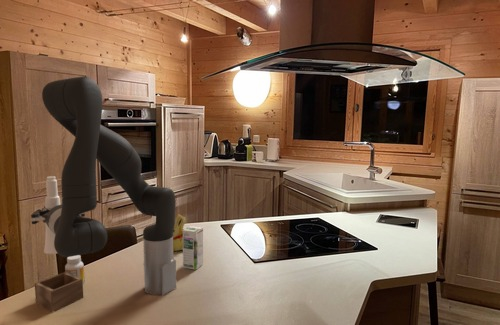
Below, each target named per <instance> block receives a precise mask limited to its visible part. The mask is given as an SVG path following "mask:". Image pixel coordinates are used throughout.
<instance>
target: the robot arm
mask: <svg viewBox="0 0 500 325" xmlns="http://www.w3.org/2000/svg"><path fill="white" fill-rule="evenodd" d="M102 94H103V93H102V91H101V88H100V87H99V85H98V83H97V82H96V81H95V80H94V79H93V78H91V77H88V76H77V77H71V78H65V79H57V80H54V81H50V82H47V84H45V86H44V87H43V89H42V93H41V95H42V96H41V97H42V102H43V104H44V107H45V108H46V110H47V112H48V113H49V114H50V116H52V117H53V119H55V121H57V122H58V123H59V124H60V126H62V127H64V128H65V129H66V130H67V131H68V132H69V133H70V134H71V135H72V136H74V140H73V144H72V147H71V149H70V151H69V153H68V156H67V158H66V159H65V161H64V164H63V168H62V172H61V178H60V179H61V181H60V182H61V184H60V185H61V203H60V204H61V205H57V206H55V207H53V208H45V205H44V206H43V207H42V208H41V209H36V210H35V211H34V212H33V213H32V214H30V219H31V220H30V221H31V225H36V224H38V223H40V222H41V221H42V222H43V223H45V225H46V224H47V226H48V227H49V228H50V230H51V231H52V232H53V233H54V235H55V239H54V247H55V250H56V252H57V254H58V255H59V256H60V257H62V258H68V257H71V256H77V255H80V256H81V255H87V254H93V253H94V254H95V253H97V252H100V251H101V250H103V249H104V247H105V246H106V245H107V242H108V231H107V228H106V227H105V225H104V224H103V223H102V222H101V221H99V220H97V219H94V218H90V217H85V216H86V213H87V212H90V211H93V210H95V209H96V207H97V205H98V202H97V201H98V199H97V197H98V196H97V177H96V176H97V174H96V173H97V172H96V170H97V162H99V164H100V165H101V166H102V167H103V169H104V170H105V171H106V172H107V173H108V174H109V175H110V176H111V177H112V178H113V179H114V180H115V182H117V184H118V185H119V186H120V187H121V189H123V191H124V192H125V193H126V194H127V196H128V198H130V200H131V202H132V204H133V205H134V207H135V208H136V209H137V211H139V212H140V213H142V214H143V215H146V216H151V217H155V223H154V224H150V225H148V226H145V227H144V229H143V231H142V238H143V239H142V240H143V242H142V243H143V245H142V246H143V275H144V277H143V278H144V279H143V280H144V291H145V293H147V294H150V295H161V296H164V295H167V294H168V293H169V292H171V291H173V290H174V289H177V260H176V259H174V251H173V230H174V226H175V218H176V204H177V202H176V196H175V195H176V194H175V191H174V190H173V189H171V188H170V187H163V186H154V185H150V184H149V183H148V182H147V181H146V180H145V179H144V178H143V177H142V166H143V165H142V160H141V159H142V158H141V157H140V155H139V153H138V152H137V151H136V149H135V147H134V146H132V144H131V143H130V142H129V141H128V140H127V139H126V138H125V137H123V136H122V135H121V134H119V133H117V132H115V131H113V130H112V129H109V128H108V127H106V126H104V125H102V123H101V122H102V114H103V95H102Z"/></svg>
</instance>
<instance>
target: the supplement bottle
mask: <svg viewBox="0 0 500 325" xmlns="http://www.w3.org/2000/svg"><path fill="white" fill-rule="evenodd" d="M81 257H82V256H81V255H77V256H71V257H66V262H67V263H66V264H65V265H64V272H66V273H69V274H71V275H73V276H76V277H78V278H81V279H83V286H84V285H85V267H84V266H85V265H84V262H83V261H82V258H81Z"/></svg>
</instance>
